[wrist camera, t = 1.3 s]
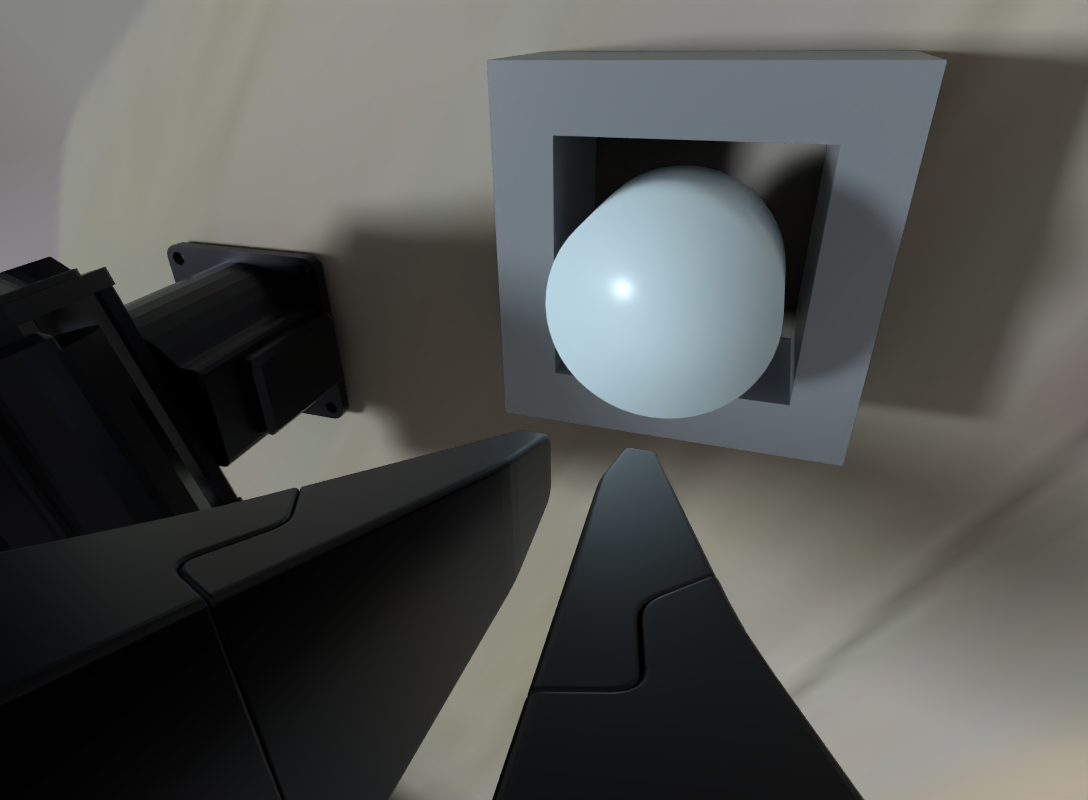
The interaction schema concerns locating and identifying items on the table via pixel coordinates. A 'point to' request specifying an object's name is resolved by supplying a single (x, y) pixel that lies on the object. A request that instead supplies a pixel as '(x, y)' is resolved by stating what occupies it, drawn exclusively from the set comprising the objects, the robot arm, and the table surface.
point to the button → (670, 293)
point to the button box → (714, 115)
